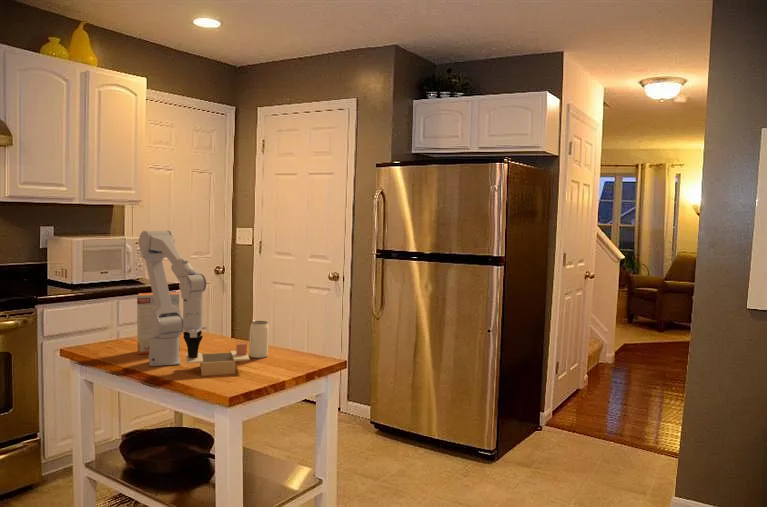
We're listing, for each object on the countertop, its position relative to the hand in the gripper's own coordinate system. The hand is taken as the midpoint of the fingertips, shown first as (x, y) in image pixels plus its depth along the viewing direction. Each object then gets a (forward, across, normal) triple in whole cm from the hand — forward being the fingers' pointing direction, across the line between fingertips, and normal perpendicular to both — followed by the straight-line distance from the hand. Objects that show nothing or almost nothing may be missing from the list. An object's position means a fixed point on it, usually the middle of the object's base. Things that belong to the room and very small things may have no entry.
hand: (192, 355), depth 190 cm
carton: (+5, 0, -8) cm, 9 cm away
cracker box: (+5, +30, +10) cm, 32 cm away
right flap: (+1, 0, -15) cm, 15 cm away
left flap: (+1, 0, -1) cm, 1 cm away
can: (+5, +15, -22) cm, 27 cm away
